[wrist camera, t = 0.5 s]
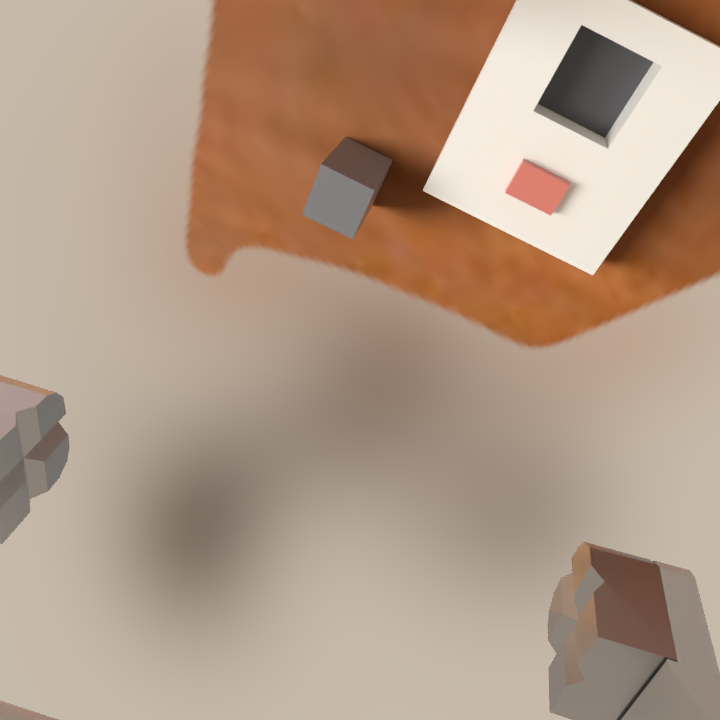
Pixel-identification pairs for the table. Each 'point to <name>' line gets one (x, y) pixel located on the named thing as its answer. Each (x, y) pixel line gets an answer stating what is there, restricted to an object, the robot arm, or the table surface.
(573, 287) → the table surface
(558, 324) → the table surface
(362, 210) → the plug
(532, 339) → the table surface
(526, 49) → the socket plate
